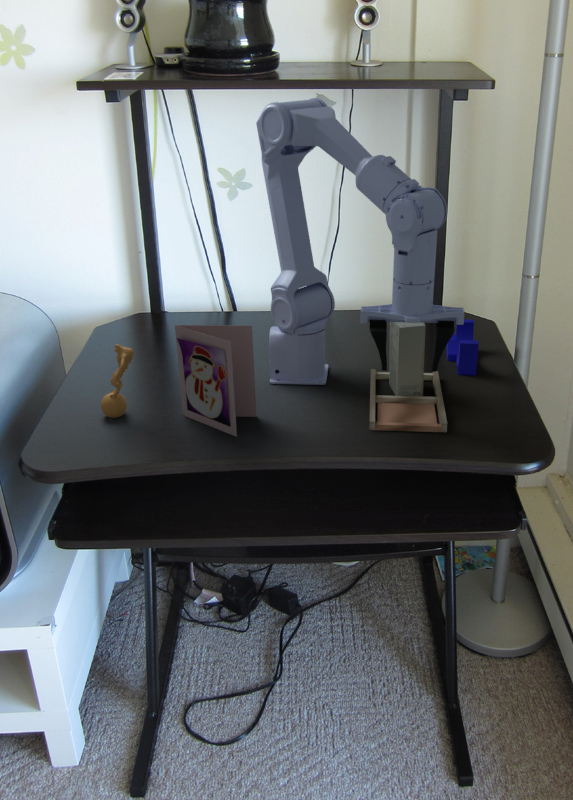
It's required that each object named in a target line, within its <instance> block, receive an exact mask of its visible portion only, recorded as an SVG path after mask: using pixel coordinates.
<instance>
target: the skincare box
mask: <svg viewBox="0 0 573 800" xmlns="http://www.w3.org/2000/svg"><path fill="white" fill-rule="evenodd" d="M425 341H426V324H425V323H406V322H389V370H388V372H389V379H388V380H389V381H388V383H389V387H390V388H391V390H392V392H393V394H394V396H424V380H423V378H424V373H425V347H426V346H425V345H426V342H425Z"/></svg>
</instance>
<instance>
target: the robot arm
mask: <svg viewBox="0 0 573 800" xmlns="http://www.w3.org/2000/svg"><path fill="white" fill-rule="evenodd" d="M255 124H256V129H257V135H258V136H257V137H258V141H259V147H260V151H261V152H260V153H261V165H262V171H263V177H264V182H265V187H266V189H265V190H266V193H267V200H268V205H269V209H270V210H269V211H270V216H271V223H272V227H273V232H274V233H273V234H274V239H275V243H276V244H275V245H276V250H277V255H278V261H279V266H280V268H279V269H280V274H279V275H278V277H277V278H276V279H275V281H274V282H273V283H272V285H271V287H270V294H271V302H270V314H271V318H272V321H273V322H274V324H275V325H273V326H271V327H270V329H269V337H268V342H269V343H268V354H269V355H268V357H269V360H268V361H269V363H268V366H269V384H272V385H273V384H274V385H275V384H276V385H306V386H308V385H310V386H313V385H315V386H316V385H317V386H325V385H326V384H327V379H328V372H329V364H327V363H326V349H325V348H326V332H325V331H326V325H328V324H329V323H328V322H329V320H328V319H329V318H331V316H332V315H333V313H334V311H335V307H336V304H335V303H336V302H335V296H334V295H333V291H331V288H330V286H329V283H328V277H327V275H326V274H325V273H324V272H323V271H321V270H320V269H318V268H316V266H315V261H314V256H313V250H312V244H311V238H310V233H309V226H308V221H307V215H306V214H307V213H306V209H305V204H304V203H305V202H304V196H303V192H302V191H303V190H302V184H301V178H300V174H299V173H300V172H299V167H300V165H301V163H302V162H303V160H304V159H305V157H306V156H307V155H308V154H309V153H310V152H312V151H313V150H314V149H315V148H316V147H318V148H320V149H321V150H322V151H323V152H325V153H326V154H327V155H329V156H330V157H331V158H333V159H334V160H335V161H336V162H338V163H339V164H340V165H342V166H343V168H345V169H347V171H349V172H350V173H352V174H353V175H354V176H355V187H356V189H357V190H358V191H359V192H360V193H361V194H362V195H364V196H365V197H366V199H368V200H369V201H371V203H372V204H373V205H374V206H375V207H377V208H378V210H380V211H381V212H382V213H383V214H384V215H385V221H386V224H387V228H388V230H389V231H390V234H391V245H393V268H392V269H393V270H392V271H393V274H392V293H391V295H392V296H391V297H392V299H391V300H392V301H391V304H390V303H389V304H383V305H381V304H379V305H372V306H371V305H368V306H365V305H364V306H360V324H368V323H369V333H370V334H371V337H372V339H373V341H374V343H375V345H376V348H377V351H378V354H379V358H380V363H381V371H382V372H385V371H386V372H387V370H388V363H387V362H388V359H387V337H388V329H387V328H388V325H387V324H388V323H390V322H406V323H424V324H425V323H427V324H428V323H429V324H431V323H432V324H434V327H433V328H434V330H433V347H432V351H431V352H432V353H431V358H430V359H431V360H430V361H431V362H430V364H431V365H430V366H431V367H430V368H431V373H433V372H436V371H438V366H439V363H440V361H441V358H442V355H443V353H444V351H445V350H446V345H447V343H448V342H449V340H450V339H451V337H452V336H453V335H455V330H456V327H455V326H456V325H463V324H464V320H465V308H464V307H456V306H455V307H454V306H446V305H445V306H444V305H437V304H433V303H434V291H435V290H434V289H435V275H436V274H435V273H436V262H437V261H436V258H437V245H438V244H437V241H438V230H439V228H441V227H442V226H443V225H444V223H445V222H446V220H447V217H448V206H447V202H446V199H445V198H444V196H443V194H441V193H440V191H439V190H438V188H436V187H431V186H430V187H429V186H427V187H423V186H422V185H420V182H419V181H418V180H416V179H415V178H410V176H408V174H406V173H405V172H404V171H403V170H402V169H400V167H398V166H397V165H396V162H397V160H396V159H394V158H393V157H392V156H391V155H389V156H385V155H384V154H378V155H374V156H373V155H372V154H371V153H370V152H369V151H368V150H367V149H366V148H365V147H364V146H363V145H362V144H361V143H360V142H359V141H358V140H357V139H356V138H355V137H354V136H353V135H352V134H351V133H350V132H349V130H348V129H347V128H346V127H345V126H344V125H343V124H342V123H341V122H340V121H339V120H338V119H337V118H336V112H335V109H334V108H332V107H330V106H328V105H327V104H326V102H325V101H324V100H322V99H320V98H317V97H312V98H309V99H302V100H292V101H281V102H279V101H272V102H269V103H267V104H266V105H265V106H264V107H263V109H262V111H261V113H260V115H259V116H258V119H257V121H256V123H255Z"/></svg>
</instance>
